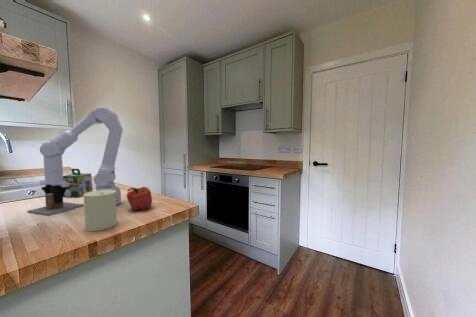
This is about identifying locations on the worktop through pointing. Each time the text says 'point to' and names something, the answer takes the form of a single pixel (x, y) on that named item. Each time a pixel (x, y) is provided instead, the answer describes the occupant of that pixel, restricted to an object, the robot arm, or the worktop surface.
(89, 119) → the robot arm
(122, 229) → the worktop surface
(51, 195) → the block
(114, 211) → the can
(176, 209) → the worktop surface
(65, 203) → the mat
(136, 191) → the vegetable
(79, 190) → the chalk box
